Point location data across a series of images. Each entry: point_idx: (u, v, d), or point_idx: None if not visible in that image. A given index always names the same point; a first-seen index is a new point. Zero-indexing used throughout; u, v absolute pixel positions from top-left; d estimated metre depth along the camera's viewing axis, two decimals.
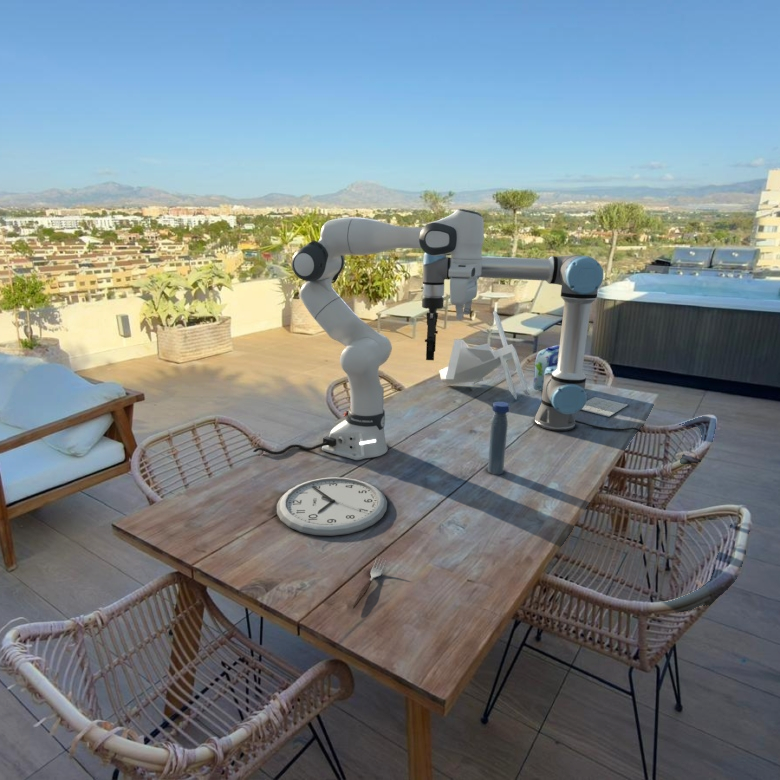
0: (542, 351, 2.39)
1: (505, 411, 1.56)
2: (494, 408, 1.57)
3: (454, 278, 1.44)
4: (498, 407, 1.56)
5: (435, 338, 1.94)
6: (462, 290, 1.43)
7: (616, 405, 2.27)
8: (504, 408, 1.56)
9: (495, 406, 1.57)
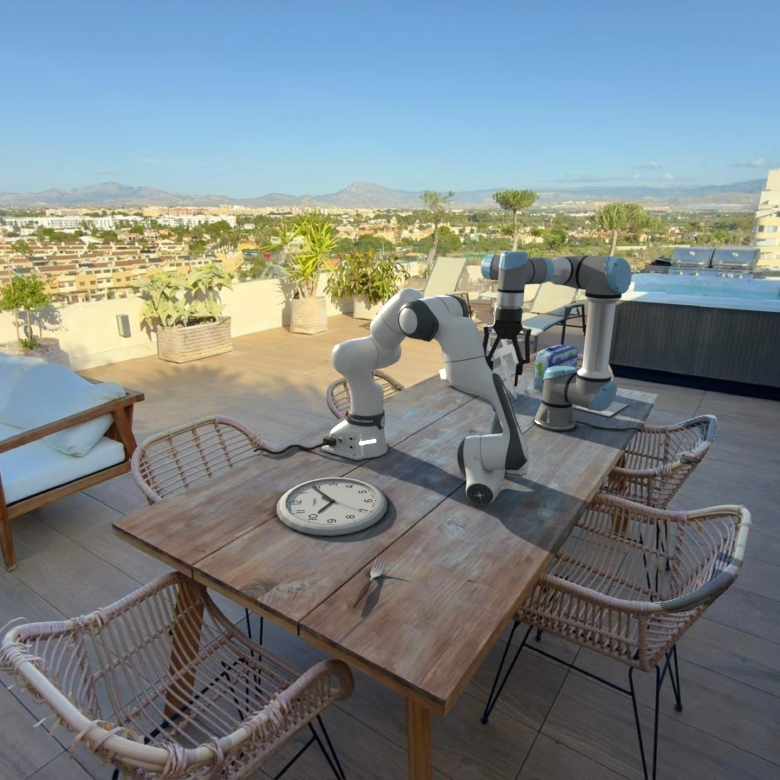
0: (542, 351, 2.39)
1: None
2: (494, 408, 1.57)
3: None
4: None
5: None
6: None
7: (616, 405, 2.27)
8: None
9: None
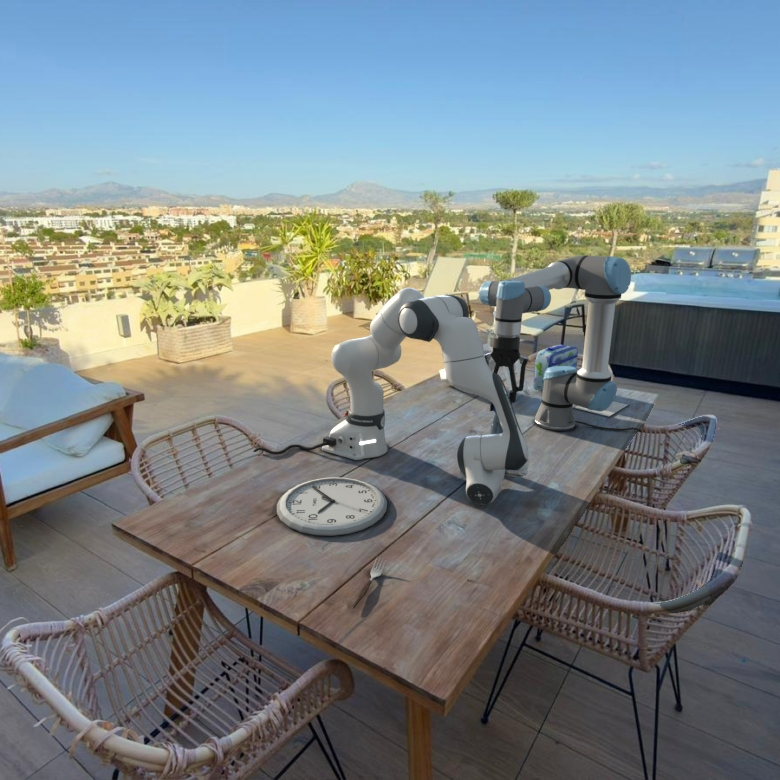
0: (542, 351, 2.39)
1: None
2: (494, 408, 1.57)
3: None
4: None
5: (509, 397, 1.55)
6: None
7: (616, 405, 2.27)
8: None
9: None
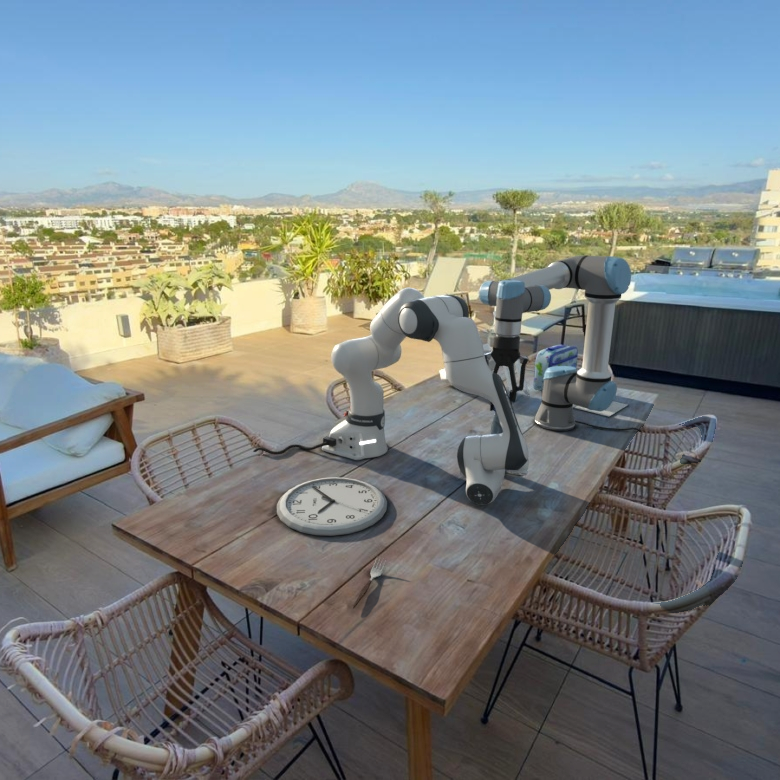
0: (542, 351, 2.39)
1: None
2: None
3: None
4: None
5: (509, 396, 1.55)
6: None
7: (616, 405, 2.27)
8: None
9: None
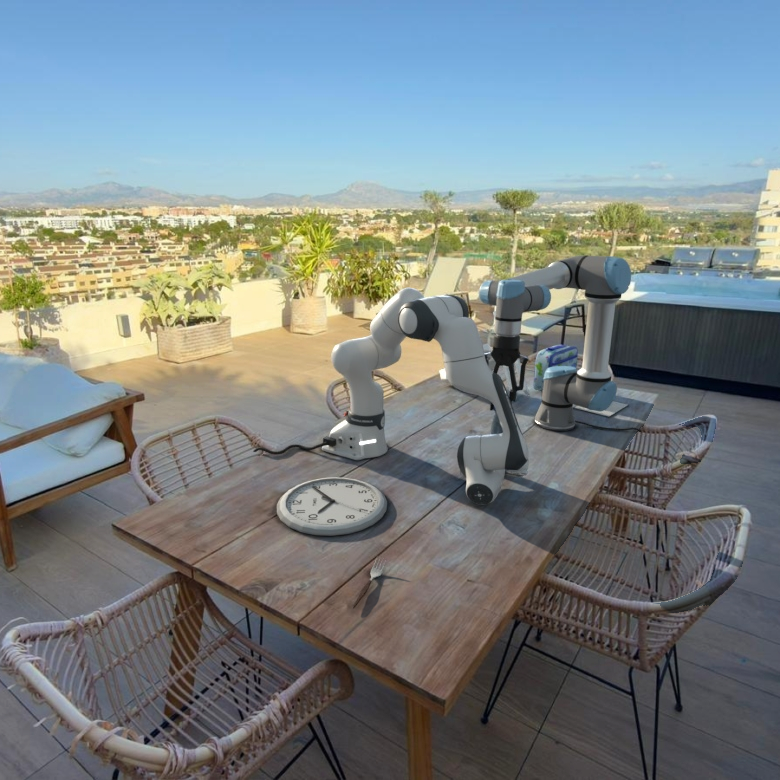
0: (542, 351, 2.39)
1: None
2: None
3: None
4: None
5: (509, 396, 1.55)
6: None
7: (616, 405, 2.27)
8: None
9: None
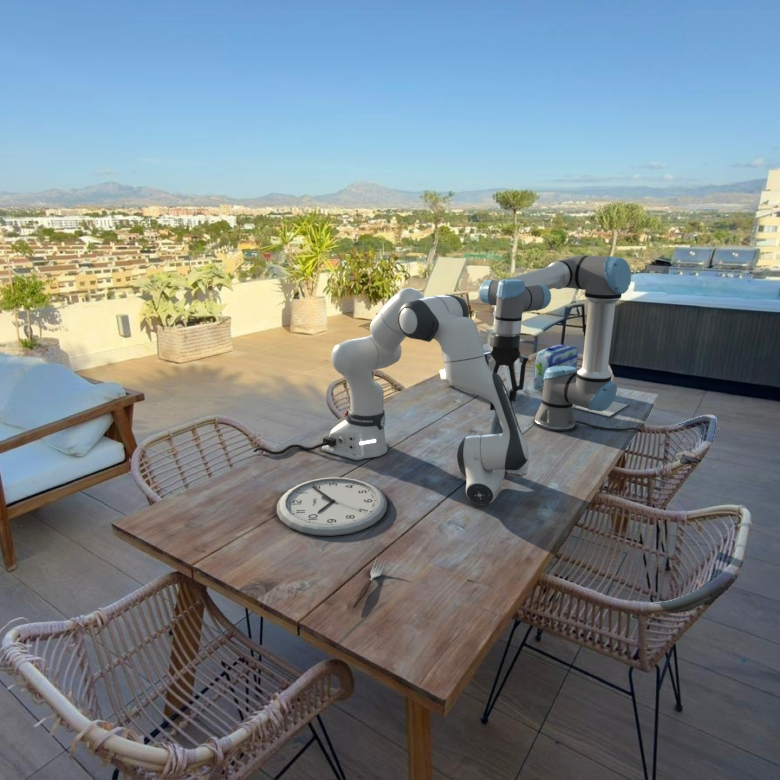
0: (542, 351, 2.39)
1: None
2: None
3: None
4: None
5: (509, 396, 1.55)
6: None
7: (616, 405, 2.27)
8: None
9: None
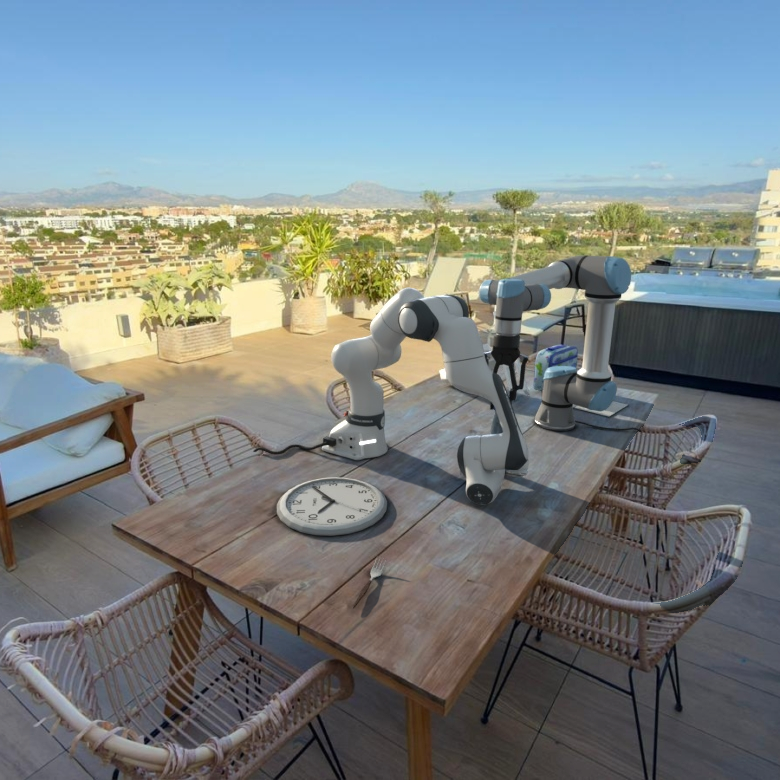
0: (542, 351, 2.39)
1: None
2: None
3: None
4: None
5: (509, 395, 1.55)
6: None
7: (616, 405, 2.27)
8: None
9: None
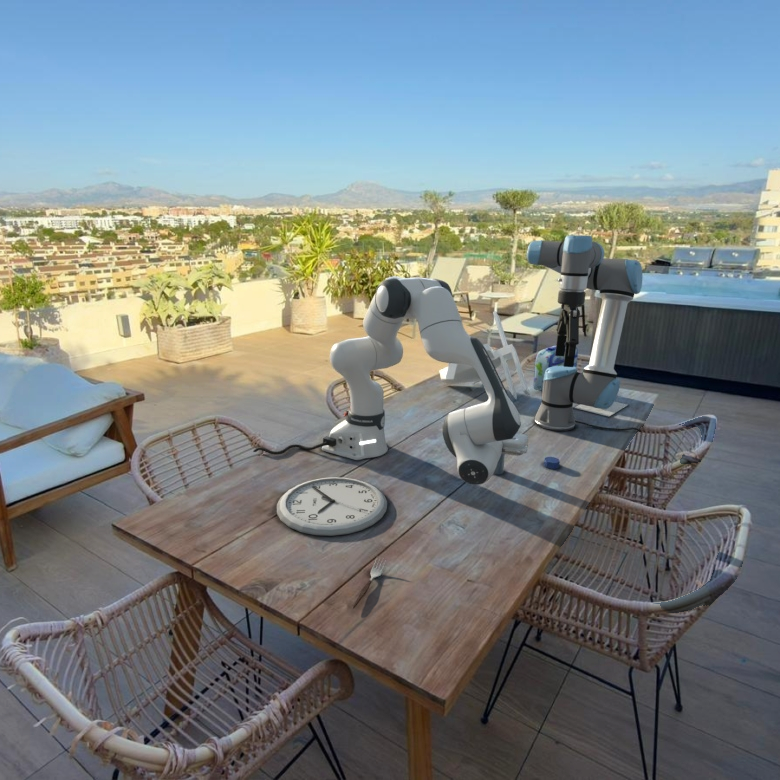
0: (542, 351, 2.39)
1: None
2: None
3: None
4: None
5: (565, 340, 1.63)
6: None
7: (616, 405, 2.27)
8: None
9: None
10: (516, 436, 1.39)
